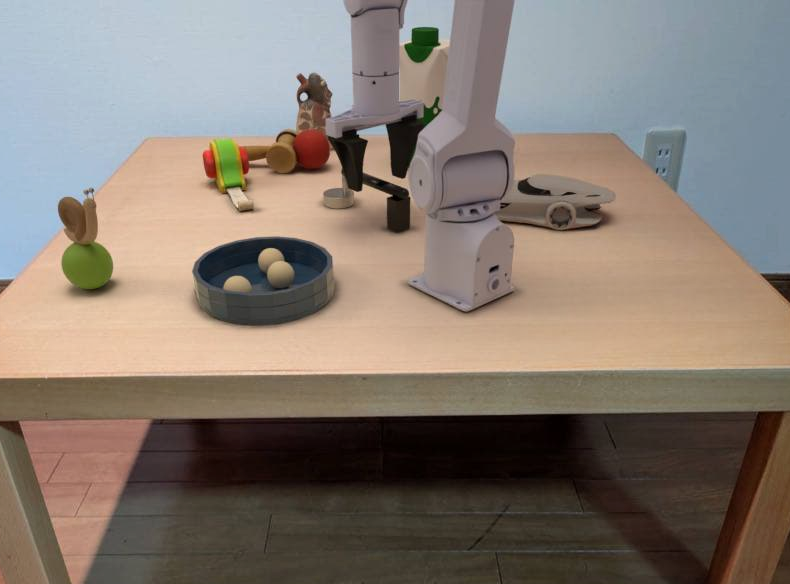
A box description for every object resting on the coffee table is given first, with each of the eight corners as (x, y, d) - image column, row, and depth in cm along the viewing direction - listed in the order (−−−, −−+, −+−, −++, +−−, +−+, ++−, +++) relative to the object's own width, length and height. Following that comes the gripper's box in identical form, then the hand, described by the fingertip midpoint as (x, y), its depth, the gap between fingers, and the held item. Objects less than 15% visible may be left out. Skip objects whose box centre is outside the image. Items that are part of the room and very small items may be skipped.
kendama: (217, 182, 117) (326, 169, 114) (209, 140, 114) (320, 126, 111) (233, 175, 124) (336, 163, 121) (226, 136, 121) (331, 123, 118)
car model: (439, 193, 108) (441, 159, 105) (609, 204, 104) (615, 168, 101) (428, 221, 99) (429, 185, 96) (613, 234, 95) (620, 196, 92)
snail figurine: (96, 303, 80) (68, 196, 73) (58, 290, 83) (27, 186, 76) (133, 285, 84) (110, 181, 77) (96, 272, 87) (70, 171, 80)
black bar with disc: (317, 202, 105) (315, 162, 102) (341, 195, 108) (340, 155, 104) (394, 236, 95) (394, 193, 91) (419, 228, 97) (420, 185, 94)
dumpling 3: (289, 253, 80) (263, 261, 79) (299, 278, 80) (272, 285, 79) (288, 264, 83) (263, 271, 82) (297, 288, 83) (272, 295, 82)
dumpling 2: (262, 279, 85) (268, 257, 86) (285, 279, 84) (291, 257, 85) (250, 265, 83) (257, 242, 84) (274, 265, 82) (280, 242, 83)
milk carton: (391, 165, 119) (391, 29, 107) (419, 151, 125) (421, 20, 114) (438, 174, 115) (443, 33, 103) (464, 159, 121) (472, 25, 110)
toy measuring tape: (241, 169, 118) (236, 127, 115) (268, 209, 103) (264, 162, 100) (201, 173, 117) (195, 131, 113) (224, 215, 102) (217, 168, 98)
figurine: (335, 152, 125) (332, 77, 118) (294, 152, 125) (288, 77, 118) (338, 140, 131) (335, 68, 124) (298, 140, 131) (293, 68, 124)
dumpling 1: (261, 291, 78) (245, 267, 77) (241, 306, 76) (224, 281, 76) (249, 297, 80) (233, 274, 80) (230, 312, 79) (213, 288, 78)
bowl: (361, 294, 81) (360, 265, 79) (244, 340, 74) (240, 309, 71) (284, 253, 91) (281, 226, 89) (173, 289, 83) (167, 261, 81)
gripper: (398, 59, 95) (398, 164, 103) (307, 75, 87) (315, 187, 95) (436, 67, 90) (433, 176, 98) (344, 84, 83) (348, 201, 91)
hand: (377, 183), depth 96 cm, fingers open, 7 cm apart
